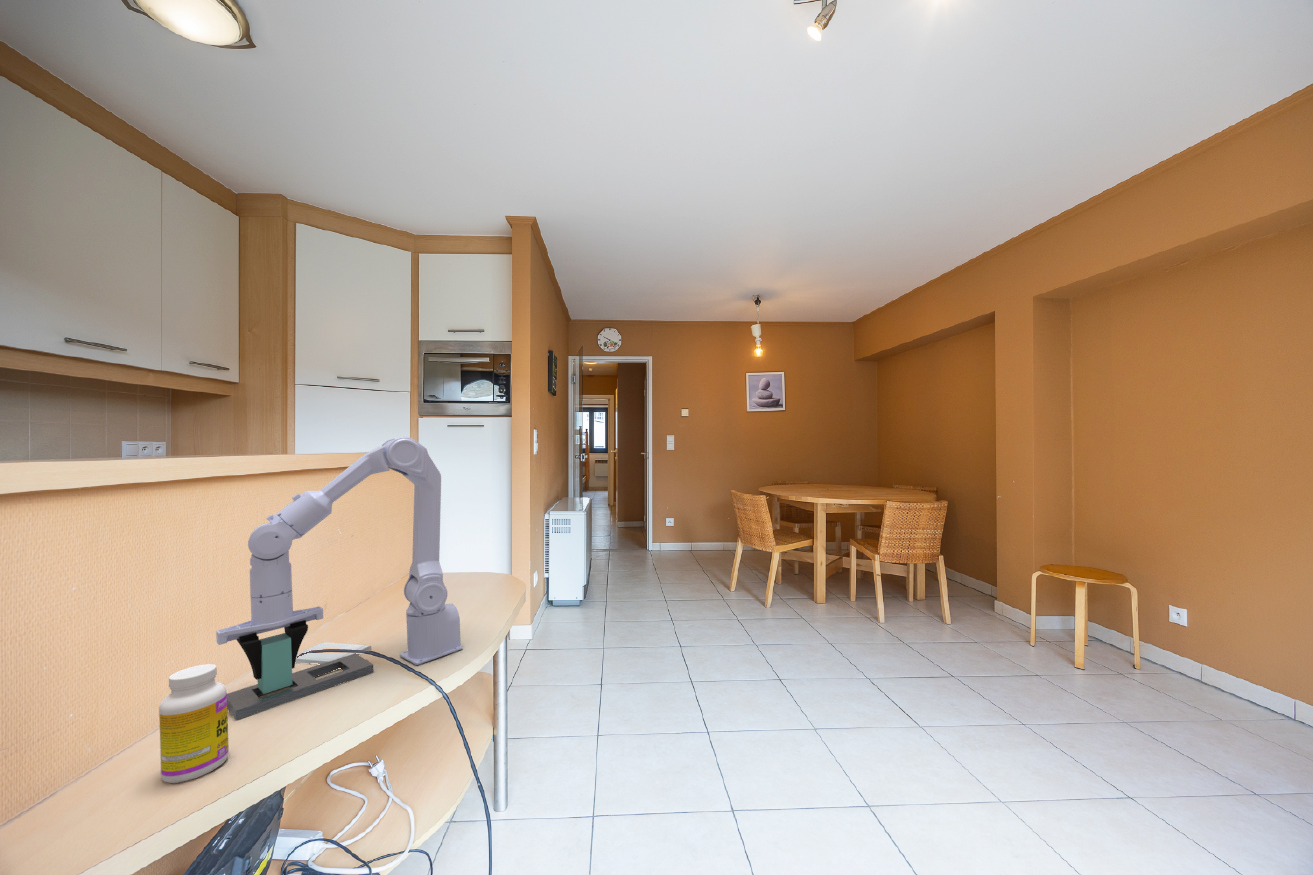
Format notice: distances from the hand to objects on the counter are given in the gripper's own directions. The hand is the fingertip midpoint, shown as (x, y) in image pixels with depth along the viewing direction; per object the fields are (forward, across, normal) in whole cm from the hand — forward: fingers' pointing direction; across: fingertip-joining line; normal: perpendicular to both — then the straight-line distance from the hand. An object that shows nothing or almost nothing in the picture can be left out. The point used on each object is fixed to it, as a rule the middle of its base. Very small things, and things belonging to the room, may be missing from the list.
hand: (274, 672), depth 86 cm
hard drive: (+5, -12, -12) cm, 18 cm away
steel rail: (+4, -4, 0) cm, 6 cm away
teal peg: (+2, 0, 0) cm, 2 cm away
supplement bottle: (+4, +12, +16) cm, 20 cm away
